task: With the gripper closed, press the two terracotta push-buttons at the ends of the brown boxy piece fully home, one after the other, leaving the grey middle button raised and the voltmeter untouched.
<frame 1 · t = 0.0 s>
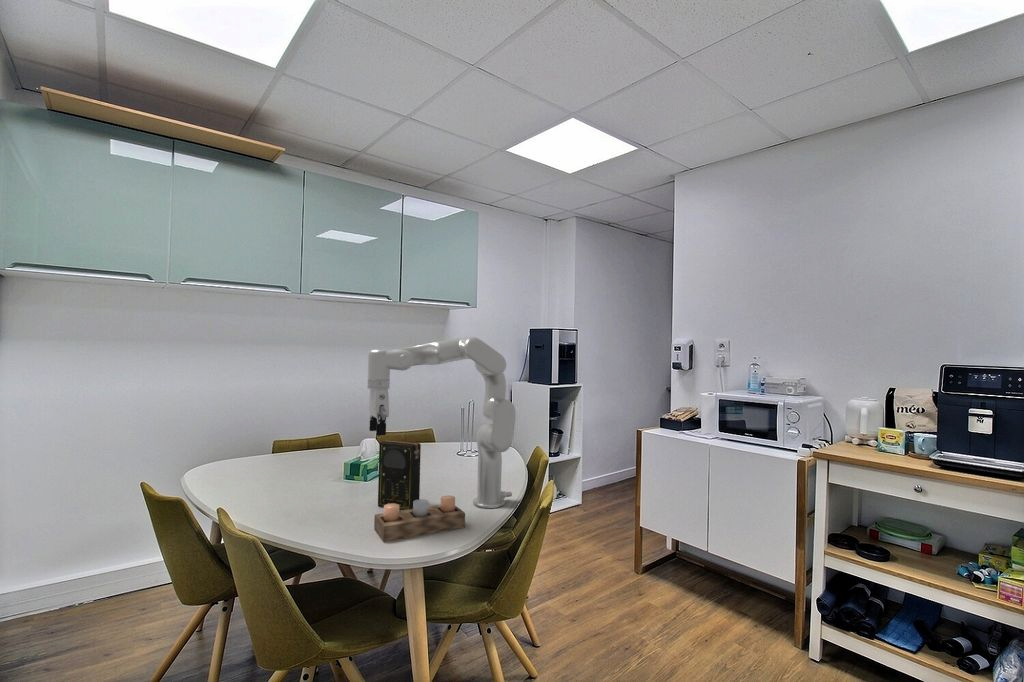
hand: (377, 432, 168), 31 cm above the table, tool pointing down, fingers open, 9 cm apart
button middle: (420, 508, 162), point 7 cm above the table, slide at 3.0 cm
button 2: (447, 504, 167), point 7 cm above the table, slide at 3.0 cm
brown boxy piece: (420, 528, 162), on the table
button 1: (391, 513, 157), point 7 cm above the table, slide at 3.0 cm
voltmeter: (398, 507, 183), on the table
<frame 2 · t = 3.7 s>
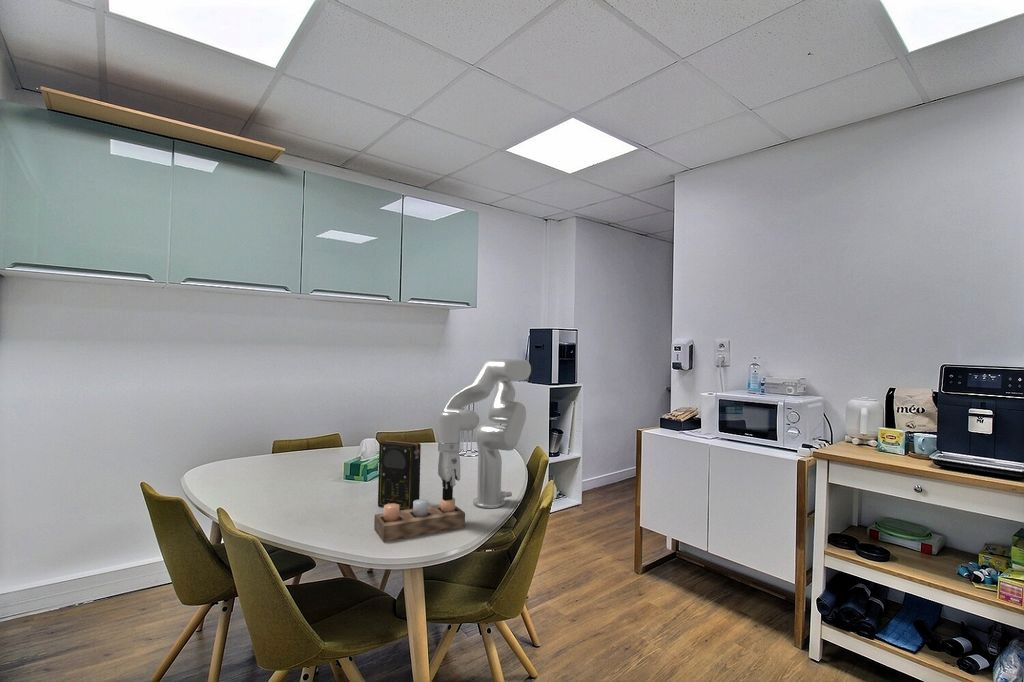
hand: (447, 499, 167), 9 cm above the table, tool pointing down, fingers closed
button 2: (447, 506, 167), point 6 cm above the table, slide at 2.4 cm, touching gripper
everything else where it was.
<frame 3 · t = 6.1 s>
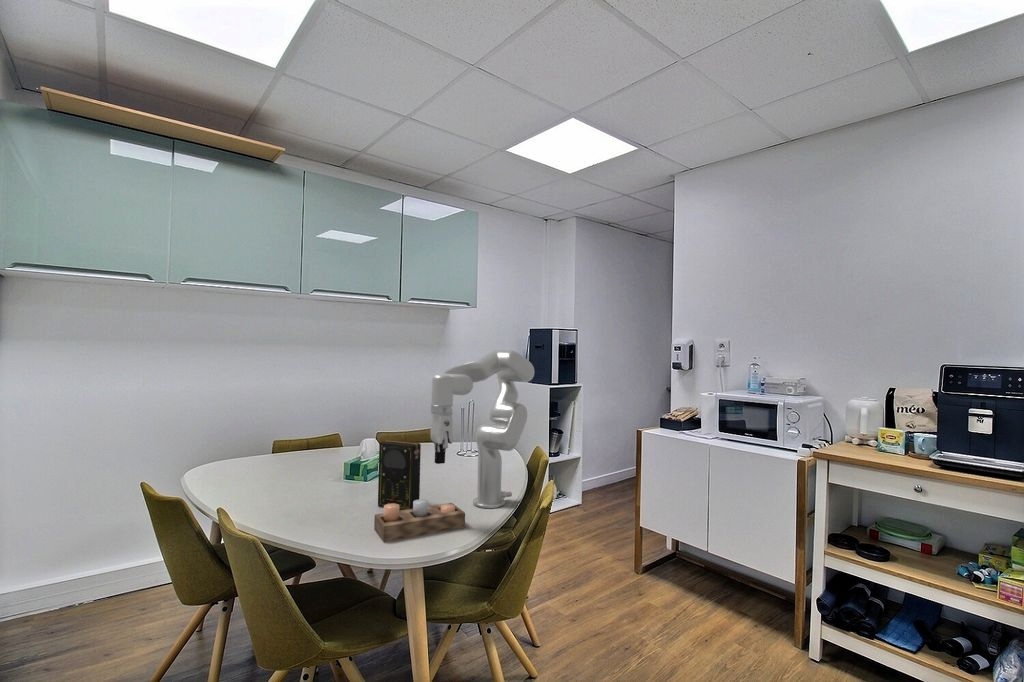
hand: (439, 463, 165), 22 cm above the table, tool pointing down, fingers closed
button 2: (447, 513, 167), point 3 cm above the table, slide at -0.1 cm, touching brown boxy piece
everything else where it was.
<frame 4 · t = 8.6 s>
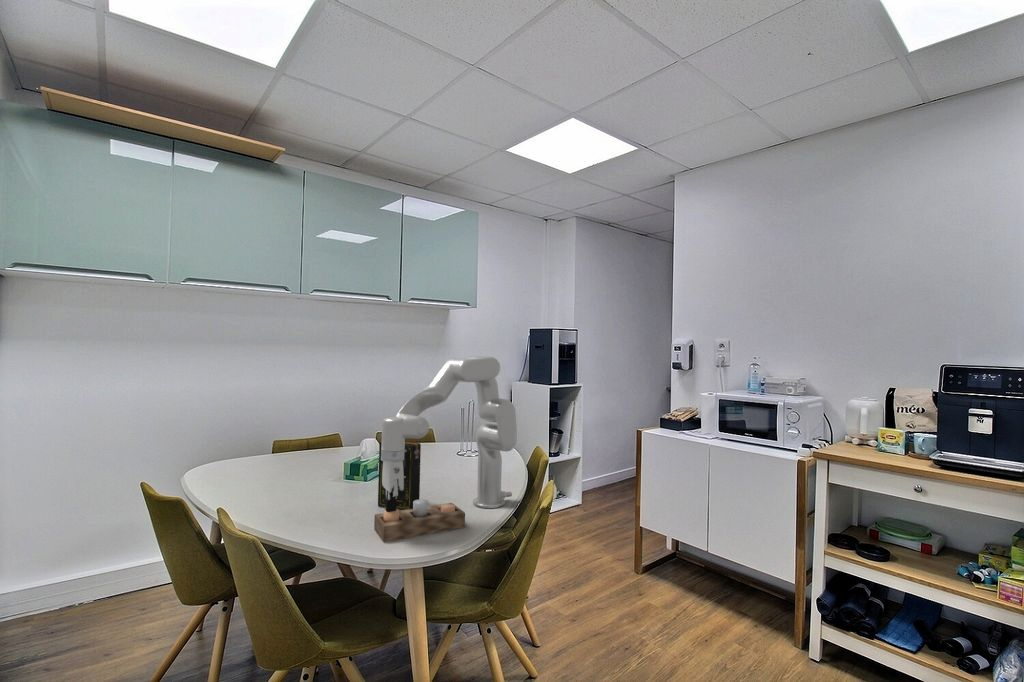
hand: (390, 510, 157), 8 cm above the table, tool pointing down, fingers closed
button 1: (391, 518, 157), point 5 cm above the table, slide at 1.4 cm, touching gripper
everything else where it was.
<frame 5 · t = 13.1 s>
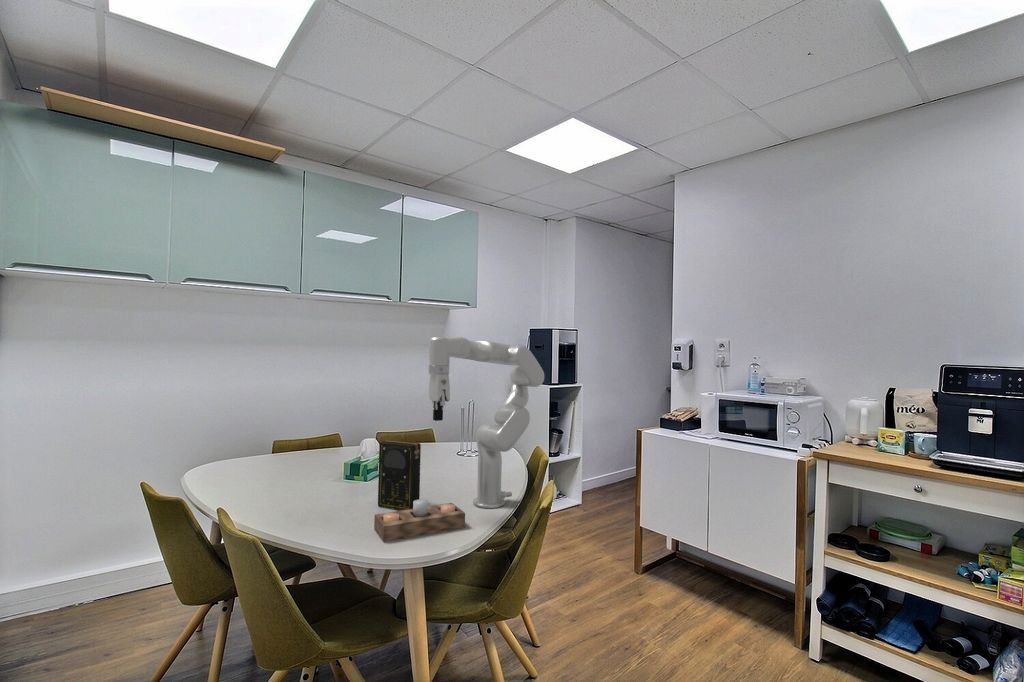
hand: (437, 420, 175), 35 cm above the table, tool pointing down, fingers closed
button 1: (391, 522, 157), point 3 cm above the table, slide at -0.1 cm, touching brown boxy piece
everything else where it was.
at the end: button 2 slide at -0.1 cm; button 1 slide at -0.1 cm; button middle slide at 3.0 cm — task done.
